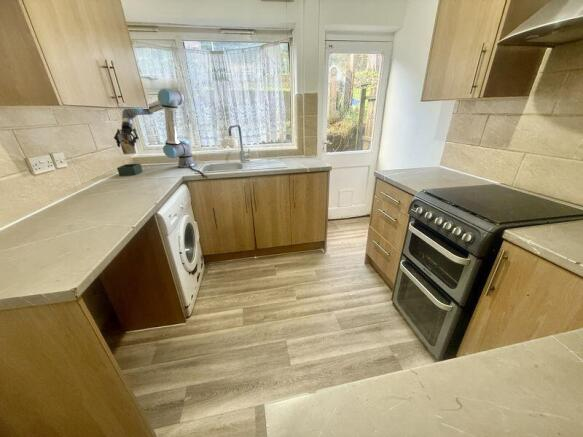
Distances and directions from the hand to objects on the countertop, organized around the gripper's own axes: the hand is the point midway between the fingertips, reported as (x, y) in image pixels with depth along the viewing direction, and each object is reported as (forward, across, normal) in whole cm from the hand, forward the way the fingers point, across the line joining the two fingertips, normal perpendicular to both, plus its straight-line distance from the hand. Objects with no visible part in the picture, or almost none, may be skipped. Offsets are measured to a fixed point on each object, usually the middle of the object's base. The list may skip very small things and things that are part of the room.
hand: (126, 145), depth 202 cm
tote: (+16, +2, -16) cm, 23 cm away
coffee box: (+3, 0, -7) cm, 8 cm away
